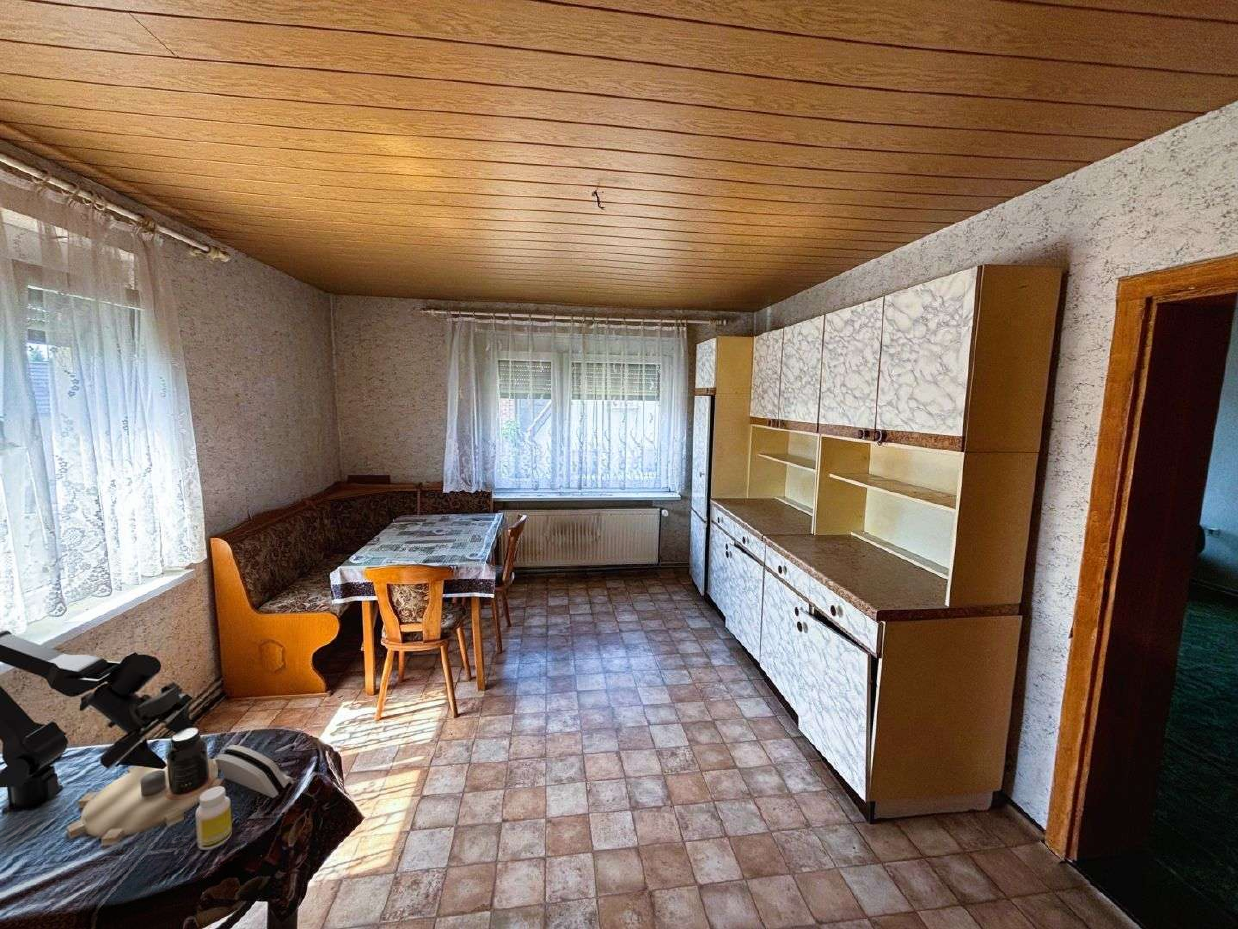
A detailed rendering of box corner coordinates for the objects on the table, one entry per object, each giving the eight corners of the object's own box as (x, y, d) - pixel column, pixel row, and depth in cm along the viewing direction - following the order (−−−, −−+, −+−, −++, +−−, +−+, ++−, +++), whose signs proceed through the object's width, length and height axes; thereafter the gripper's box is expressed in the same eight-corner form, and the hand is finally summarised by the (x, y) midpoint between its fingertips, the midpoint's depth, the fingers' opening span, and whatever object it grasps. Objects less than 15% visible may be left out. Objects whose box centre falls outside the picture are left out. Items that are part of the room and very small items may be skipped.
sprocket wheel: (27, 855, 97) (25, 833, 97) (127, 762, 123) (126, 745, 122) (186, 835, 103) (184, 814, 102) (250, 750, 128) (249, 733, 128)
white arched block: (295, 783, 118) (279, 753, 113) (276, 803, 114) (258, 773, 109) (245, 763, 124) (228, 734, 119) (226, 781, 120) (207, 752, 115)
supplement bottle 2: (238, 833, 104) (236, 787, 103) (209, 854, 99) (206, 807, 98) (220, 825, 105) (217, 780, 104) (190, 846, 100) (187, 799, 99)
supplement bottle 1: (173, 780, 115) (169, 729, 114) (212, 770, 119) (208, 720, 117) (166, 800, 109) (161, 747, 108) (207, 789, 113) (203, 737, 111)
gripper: (111, 705, 101) (176, 756, 104) (182, 659, 120) (235, 703, 122) (70, 744, 102) (135, 794, 104) (147, 692, 120) (201, 735, 122)
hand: (181, 752), depth 113 cm, fingers open, 9 cm apart
